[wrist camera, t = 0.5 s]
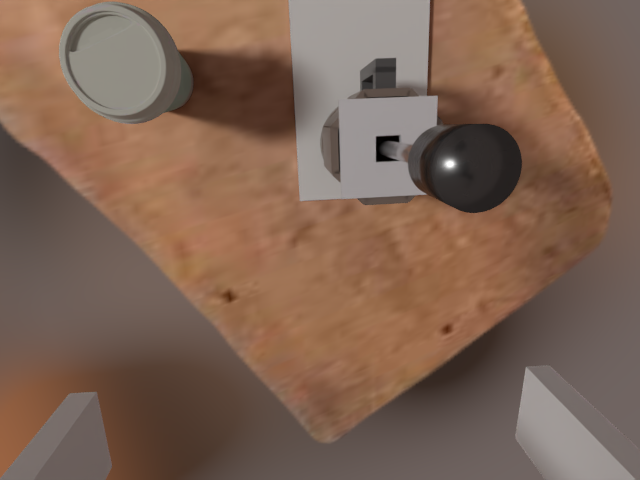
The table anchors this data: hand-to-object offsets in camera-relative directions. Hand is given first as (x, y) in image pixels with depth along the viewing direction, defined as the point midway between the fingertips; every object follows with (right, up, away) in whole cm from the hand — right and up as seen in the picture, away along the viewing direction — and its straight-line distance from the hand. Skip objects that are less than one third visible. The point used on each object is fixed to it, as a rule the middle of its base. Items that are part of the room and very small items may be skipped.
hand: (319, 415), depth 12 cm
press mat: (+4, +20, +30) cm, 36 cm away
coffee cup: (-16, +22, +28) cm, 39 cm away
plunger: (+5, +13, +20) cm, 24 cm away
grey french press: (+4, +17, +30) cm, 35 cm away
